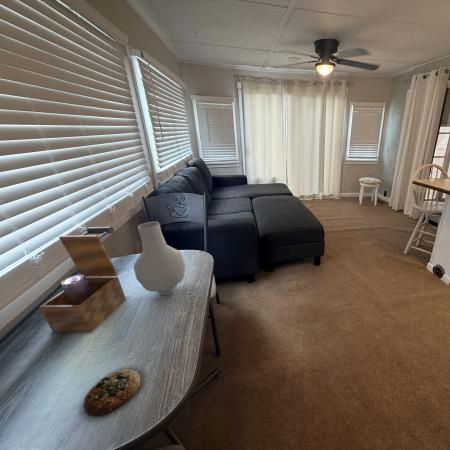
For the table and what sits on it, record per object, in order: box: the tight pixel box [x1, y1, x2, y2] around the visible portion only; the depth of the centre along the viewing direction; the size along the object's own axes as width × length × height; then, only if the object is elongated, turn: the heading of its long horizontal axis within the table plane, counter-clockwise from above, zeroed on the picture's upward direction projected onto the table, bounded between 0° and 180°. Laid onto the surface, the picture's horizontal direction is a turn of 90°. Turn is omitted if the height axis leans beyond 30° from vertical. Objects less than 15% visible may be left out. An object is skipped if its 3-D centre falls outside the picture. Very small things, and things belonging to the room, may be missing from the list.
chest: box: [38, 276, 127, 333], centre depth 80 cm, size 16×13×11 cm
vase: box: [133, 221, 186, 296], centre depth 90 cm, size 17×16×28 cm
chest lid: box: [58, 226, 119, 277], centre depth 85 cm, size 17×13×10 cm
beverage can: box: [60, 274, 93, 305], centre depth 78 cm, size 6×6×15 cm
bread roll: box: [83, 369, 141, 418], centre depth 57 cm, size 11×11×5 cm
